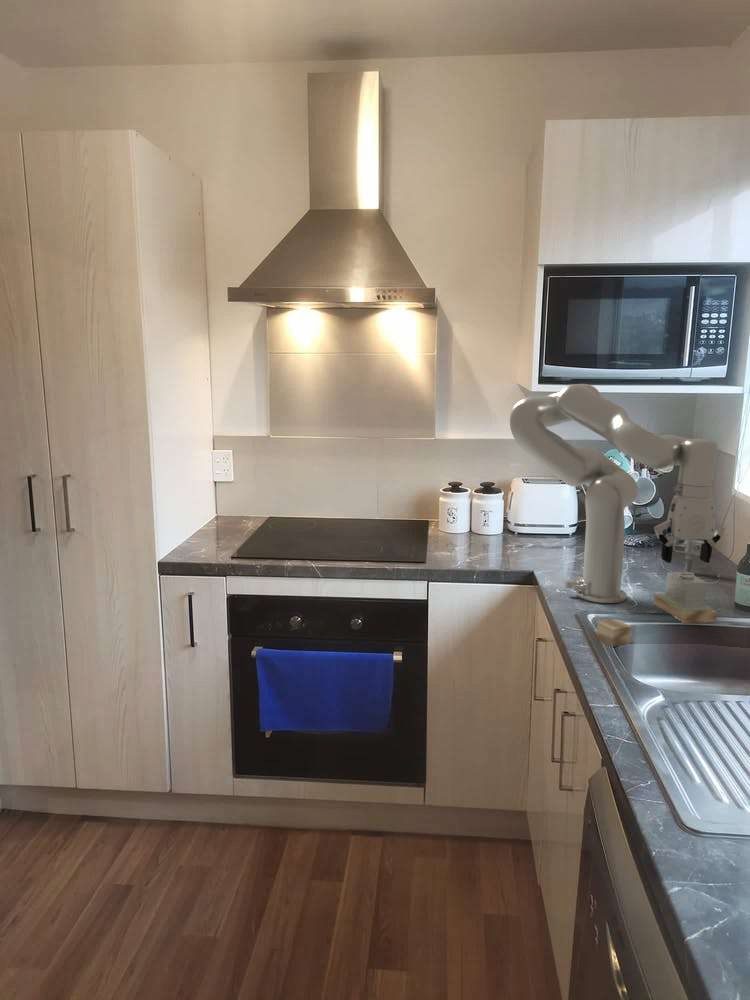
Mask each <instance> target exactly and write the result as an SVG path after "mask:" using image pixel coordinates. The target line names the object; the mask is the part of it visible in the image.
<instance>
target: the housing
mask: <svg viewBox="0 0 750 1000" xmlns="http://www.w3.org/2000/svg"><path fill="white" fill-rule="evenodd" d="M665 582H666V583H665V596H667V597H669V598H670V599H672V600H673V601H675V602H677V603H678V604H680V605H682V606H683V607H705V605H706V598H707V597H706V596H707V586H708V582H707V581H705V580H703V579H701V578H699V577H697V576H696V575H695V573H694V572H692V571H691V572H687V571H685V570H684V571H683V570H682V571H667V572H666V581H665Z"/></svg>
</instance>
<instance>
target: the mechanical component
mask: <svg viewBox="0 0 750 1000" xmlns="http://www.w3.org/2000/svg"><path fill="white" fill-rule="evenodd" d="M702 544H704V542H703V540H684V542H683V543H680V540H678V539H676V540H675V541H674V542H673V543H672V545H673V546H672V547H673V551H674V552H677V553H682V554H684V557H683V558H684V559H685V564H684V565H685V566H684V571H687V572H692V563H693V562H692V561H693V560H694V557H695V556H699V557H700V552H701V545H702ZM698 546H699V547H698ZM679 547H683V549H682V548H679Z"/></svg>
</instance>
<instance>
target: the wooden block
mask: <svg viewBox="0 0 750 1000" xmlns="http://www.w3.org/2000/svg"><path fill="white" fill-rule="evenodd" d="M653 605H655V606H657V607H658V608H659V609H661V610H662V611H664V612H665V611H666V612H665V613H667V612H668V613H670V614H672V615H674V616H676V617H677V618H678V619H680V621H681V622H680V621H679V622H680V623H682V624H702V623H703V624H704V623H705V624H706V623H707V622H713V623H716V622H717V612H718V611H716V610H714V609H713V608H712V607H710V606H709V605H706V604H705V607H683V606H682V605H680V604H678V603H677V602H675V601H673V600H672V599H670V598H669V597H667V596H665V593H654V600H653ZM668 613H667V614H668ZM670 614H669V615H670ZM707 624H708V623H707Z"/></svg>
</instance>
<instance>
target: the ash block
mask: <svg viewBox="0 0 750 1000" xmlns="http://www.w3.org/2000/svg"><path fill="white" fill-rule="evenodd" d="M596 624H597V625H596V639H597V640H598V641H601V642H602V643H604V644H606V645H608V646H610V647H613V648H614V647H619V646H624V645H629V644H631V643H632V642H631V640H632V628H633V626H632V625H629V624H627V623H626V622H624V621H621V620H619V619H617V618H615V619H614V618H613V619H607V620H602V621H601V620H600V621H597V623H596Z"/></svg>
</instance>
